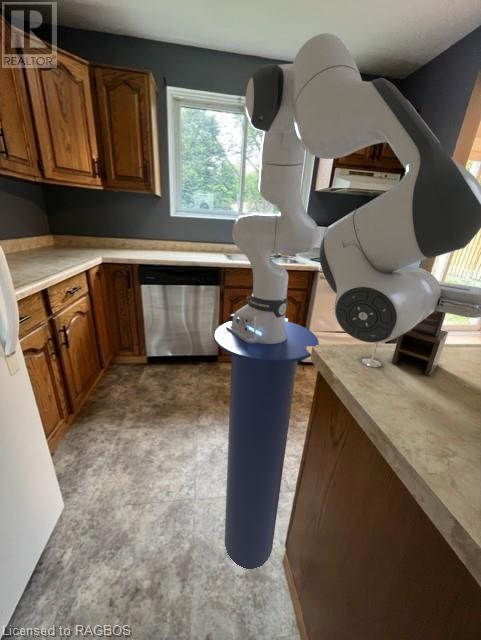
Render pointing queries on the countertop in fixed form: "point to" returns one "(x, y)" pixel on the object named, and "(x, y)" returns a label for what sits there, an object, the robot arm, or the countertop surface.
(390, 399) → the countertop surface
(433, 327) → the box
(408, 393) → the countertop surface
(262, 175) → the robot arm
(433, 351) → the shelf
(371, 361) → the wineglass
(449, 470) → the countertop surface
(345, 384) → the countertop surface
